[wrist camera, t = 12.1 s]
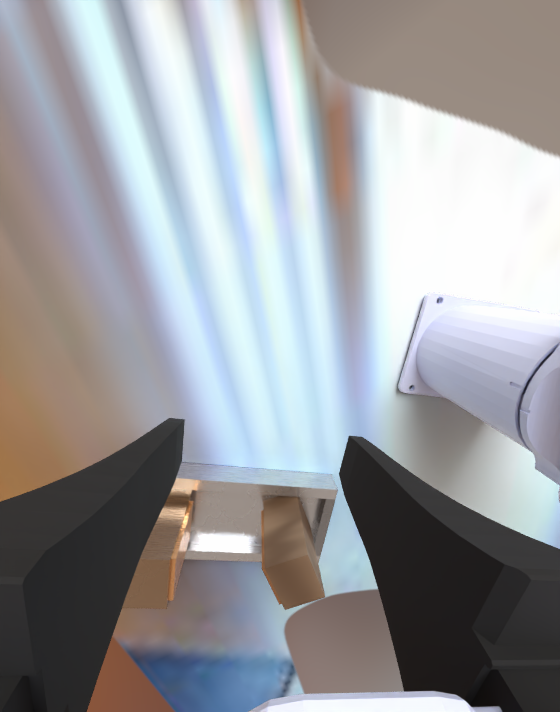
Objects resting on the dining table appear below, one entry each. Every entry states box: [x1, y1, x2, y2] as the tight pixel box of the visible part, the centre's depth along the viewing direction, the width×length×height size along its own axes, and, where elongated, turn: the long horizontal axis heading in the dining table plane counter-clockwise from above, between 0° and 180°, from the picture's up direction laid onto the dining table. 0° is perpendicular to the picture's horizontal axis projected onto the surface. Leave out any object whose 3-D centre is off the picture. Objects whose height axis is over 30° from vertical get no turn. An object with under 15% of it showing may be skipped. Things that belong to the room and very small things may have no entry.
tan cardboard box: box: [261, 496, 325, 610], centre depth 20 cm, size 3×4×6 cm
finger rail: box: [122, 463, 338, 609], centre depth 21 cm, size 15×8×6 cm, turn 81°
